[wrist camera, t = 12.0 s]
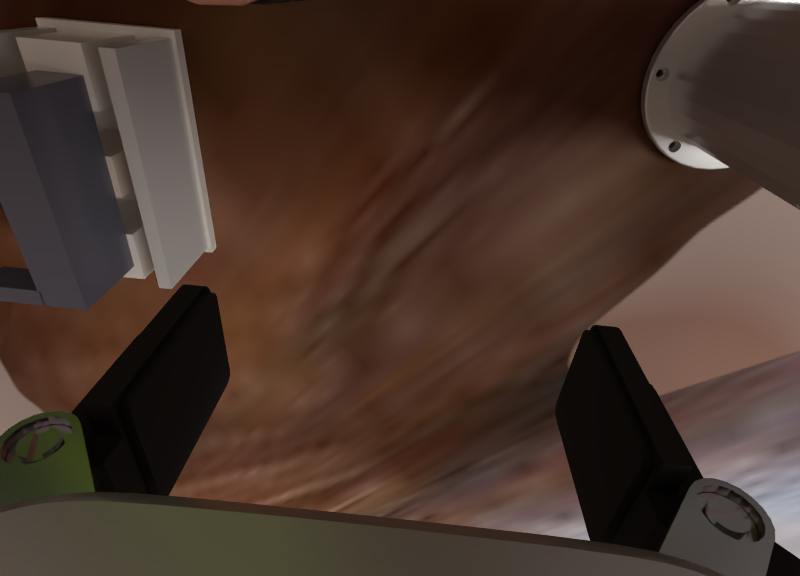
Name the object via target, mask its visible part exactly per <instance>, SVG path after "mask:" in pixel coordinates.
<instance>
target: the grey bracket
mask: <svg viewBox="0 0 800 576" xmlns="http://www.w3.org/2000/svg"><path fill="white" fill-rule="evenodd" d="M0 202H1V205H2V207H3V209H4V212H5V214H6V217H7V219H8V221H9V224H10V226H11V229H12V231H13V233H14V236H15V238H16V241H17V243H18V245H19V248H20V250H21V253H22V255H23V257H24V260H25V262H26V265H27V267H28V269H24V268H14V267H5V266H3V267H2V268H0V301H6V302H16V303H25V304H34V305H44V306H53V307H62V308H71V309H81V310H88V309H89V308H90V307H91V306H92V305H93V304H94V303H95V302H96V301H97V300H98V299H99V298H100V297H102V296H103V295H104V294H105V293H106V292H107V291H108V290H109V289H110V288H111V287H112V286H113V285H114V284H116V283H117V282H118V281H119V280H120V279H121V278H122V277H123V276H124V275H125V274H126V273H127V272H128V271H130V270H131V269H132V268H133V267H134V263H133V259H132V255H131V252H130V248H129V244H128V240H127V237H126V233H125V229H124V225H123V222H122V218H121V214H120V210H119V207H118V203H117V199H116V195H115V192H114V188H113V184H112V181H111V177H110V173H109V169H108V166H107V162H106V158H105V154H104V151H103V147H102V143H101V139H100V136H99V132H98V128H97V124H96V121H95V117H94V113H93V109H92V106H91V102H90V98H89V95H88V91H87V87H86V83H85V80H84V76H83V75H77V74H68V73H58V72H49V71H39V70H34V71H30V72H25V73H20V74H15V75H10V76H5V77H1V78H0Z"/></svg>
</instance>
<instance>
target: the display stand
mask: <svg viewBox="0 0 800 576" xmlns="http://www.w3.org/2000/svg"><path fill="white" fill-rule="evenodd" d="M35 19H36V22H37V25H38V27H28V28H18V29H8V30H0V78H1V77H5V76H10V75H15V74H20V73H25V72H30V71H34V70H39V71H49V72H58V73H68V74H77V75H83V76H84V80H85V83H86V87H87V91H88V95H89V98H90V102H91V106H92V109H93V113H94V117H95V121H96V124H97V128H98V132H99V136H100V139H101V143H102V147H103V151H104V154H105V158H106V162H107V166H108V169H109V173H110V177H111V181H112V184H113V188H114V192H115V195H116V199H117V203H118V207H119V210H120V214H121V218H122V222H123V225H124V229H125V233H126V237H127V240H128V244H129V248H130V252H131V255H132V259H133V263H134V267H133V268H132V269H131V270H130V271H128V272H127V273H126V274H125V275H124V276H123V277H128V278H139V279H145V278H146V277H147V276H148V275H149V274H150V273H151V272H152V271H153V270H154V269H155V273H156V277H157V281H158V285H159V288H167V289H172V288H173V287H174V286H175V285H176V284H177V283H178V281H179V280H180V279H181V278H182V277H183V276H184V274H185V273H186V272H187V271H188V270H189V269H190V268H191V266H192V265H193V264H194V263H195V262H196V261H197V260H198V258H199V257H200V256H201V255H202V254H203V253H204V252H213V251H214V250H215V248H216V241H215V235H214V229H213V223H212V217H211V211H210V205H209V199H208V193H207V187H206V181H205V174H204V168H203V162H202V156H201V150H200V144H199V138H198V132H197V126H196V120H195V114H194V108H193V102H192V95H191V89H190V83H189V77H188V71H187V65H186V59H185V53H184V47H183V41H182V35H181V29H173V28H162V27H150V26H139V25H128V24H117V23H106V22H95V21H84V20H73V19H62V18H50V17H39V18H35Z"/></svg>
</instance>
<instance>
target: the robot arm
mask: <svg viewBox="0 0 800 576" xmlns="http://www.w3.org/2000/svg"><path fill="white" fill-rule="evenodd" d="M658 70H661V73H660V74H659V75H658V76H656V73H657V72H658ZM641 114H642V119H643V124H644V127H645V129H646V132H647V134H648V136H649V138H650V140H651V141H652V142H653V143H654V145H655V146H656V147H657V148H658V150H660V151H661V152H662V153H663V154H665V155H666V156H667V157H669V158H670V159H672V160H674V161H676V162H677V163H679V164H682V165H685V166H688V167H691V168H696V169H707V170H713V169H724V168H732V169H733V170H735V171H737V172H738V173H740V174H742V175H743V176H745V177H747V178H748V179H750V180H751V181H753V182H755V183H756V184H758V185H760V186H761V187H763V188H765V189H766V190H768V191H770V192H771V193H773V194H775V195H776V196H778V197H780V198H781V199H783V200H784V201H786V202H788V203H789V204H791V205H793V206H794V207H796V208H797V209H799V210H800V0H728V1H727V0H699V1H698V2H697V3H695V4H694V5H693V6H691V7H690V8H689V9H688V10H687V11H686V12H685V13H684V14H683V15H682V16H681V17H680V18H679V19H678V20H677V21H676V22H675V23H674V25H673V26H672V27H671V29H670V30H669V31H668V32H667V34H666V35H665V36H664V38H663V39H662V40H661V42H660V44H659V46H658V47H657V49H656V51H655V53H654V54H653V56H652V58H651V61H650V63H649V66H648V69H647V71H646V74H645V77H644V82H643V87H642V92H641ZM672 142H673V143H672ZM670 143H672V145H671V146H669V145H670ZM229 376H230V368H229V363H228V357H227V351H226V346H225V340H224V334H223V329H222V323H221V317H220V312H219V306H218V300H217V296H216V294H215V293H211V292H210V290H209V288H208V287H206V286H196V285H186V284H185V285H182V286H181V287H180V288H179V289H178V290H177V292H176V293H175V294H174V295H173V296H172V297H171V299H170V300H169V301H168V302H167V303H166V304H165V306H164V307H163V308H162V309H161V310H160V311H159V313H158V314H157V315H156V316H155V317H154V318H153V320H152V321H151V322H150V323H149V324H148V325H147V327H146V328H145V329H144V330H143V331H142V332H141V334H139V335H138V336H137V337H136V338H135V339H134V340H133V341H132V343H131V344H130V345H129V346H128V347H127V348H126V350H125V351H124V352H123V353H122V354H121V355H120V357H119V358H118V359H117V360H116V361H115V362H114V364H113V365H112V366H111V367H110V368H109V369H108V371H107V372H106V373H105V374H104V375H103V376H102V378H101V379H100V380H99V381H98V382H97V383H96V385H95V386H94V387H93V388H92V389H91V390H90V392H89V393H88V394H87V395H86V396H85V397H84V398H83V400H82V401H81V402H80V403H79V404H78V405H77V407H76V408H75V409H74V410H73V411H72V412H71V413H70V412H64V411H49V412H44V413H40V414H36V415H33V416H31V417H29V418H26V419H24V420H22V421H20V422H18V423H17V424H15V425H14V426H12V427H10V428H9V429H8V430H7V431H6V432H5V433H3V434H2V435H1V436H0V576H800V559H799V558H797V557H796V556H794V555H793V554H792V553H790V552H789V551H787V550H786V549H784V548H783V547H781V546H780V545H778V544H777V543H776V542H775V529H774V526H773V524H772V521H771V519H770V517H769V516H768V515H767V513H766V512H765V510H764V509H763V508H762V507H761V506H760V505H759V504H758V503H757V502H756V501H755V500H754V499H753V498H752V497H751V496H750V495H748V494H747V493H745V492H744V491H742V490H741V489H740V488H738V487H736V486H734V485H732V484H730V483H727V482H725V481H721V480H718V479H713V478H703V477H702V475H701V473H700V471H699V469H698V467H697V466H696V464H695V462H694V460H693V458H692V456H691V455H690V453H689V451H688V449H687V447H686V445H685V443H684V442H683V440H682V438H681V436H680V434H679V432H678V431H677V429H676V427H675V425H674V423H673V421H672V420H671V418H670V416H669V414H668V412H667V410H666V409H665V407H664V405H663V403H662V401H661V399H660V398H659V396H658V394H657V392H656V391H655V389H654V388H653V386H652V385H651V384H649V382H648V380H647V378H646V377H645V375H644V373H643V371H642V369H641V367H640V365H639V364H638V362H637V360H636V358H635V356H634V354H633V352H632V350H631V349H630V347H629V345H628V343H627V341H626V339H625V337H624V336H623V334H622V332H621V330H620V329H619V328H617V327H610V326H600V325H594V326H592V327H591V329H590V330H585V331H584V332H583V334H582V336H581V339H580V342H579V344H578V347H577V350H576V352H575V355H574V358H573V360H572V363H571V366H570V368H569V371H568V374H567V376H566V379H565V382H564V384H563V387H562V390H561V392H560V395H559V398H558V400H557V403H556V408H555V414H556V420H557V423H558V427H559V431H560V434H561V438H562V441H563V445H564V449H565V452H566V456H567V459H568V463H569V467H570V470H571V474H572V477H573V481H574V485H575V488H576V492H577V495H578V499H579V503H580V506H581V510H582V513H583V517H584V521H585V524H586V528H587V532H588V535H589V538H590V541H587V540H579V539H571V538H564V537H556V536H548V535H540V534H531V533H522V532H513V531H504V530H495V529H486V528H477V527H468V526H459V525H450V524H441V523H432V522H422V521H413V520H404V519H394V518H385V517H376V516H366V515H357V514H347V513H338V512H328V511H319V510H309V509H299V508H289V507H279V506H269V505H259V504H250V503H240V502H230V501H220V500H210V499H199V498H187V497H175V496H168V495H169V494H170V492H171V490H172V488H173V486H174V484H175V483H176V481H177V479H178V477H179V475H180V473H181V471H182V469H183V467H184V465H185V464H186V462H187V460H188V458H189V456H190V454H191V452H192V450H193V448H194V447H195V445H196V443H197V441H198V439H199V437H200V435H201V433H202V431H203V429H204V428H205V426H206V424H207V422H208V420H209V418H210V416H211V414H212V412H213V410H214V409H215V407H216V405H217V403H218V401H219V399H220V397H221V395H222V393H223V392H224V390H225V388H226V386H227V384H228V381H229Z"/></svg>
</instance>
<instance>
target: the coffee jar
mask: <svg viewBox="0 0 800 576" xmlns="http://www.w3.org/2000/svg"><path fill="white" fill-rule="evenodd" d="M188 1H190V2H193V3H195V4H198V5H232V6H243V5H246V4H272V3H282V2H292V1H303V0H188Z"/></svg>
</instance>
